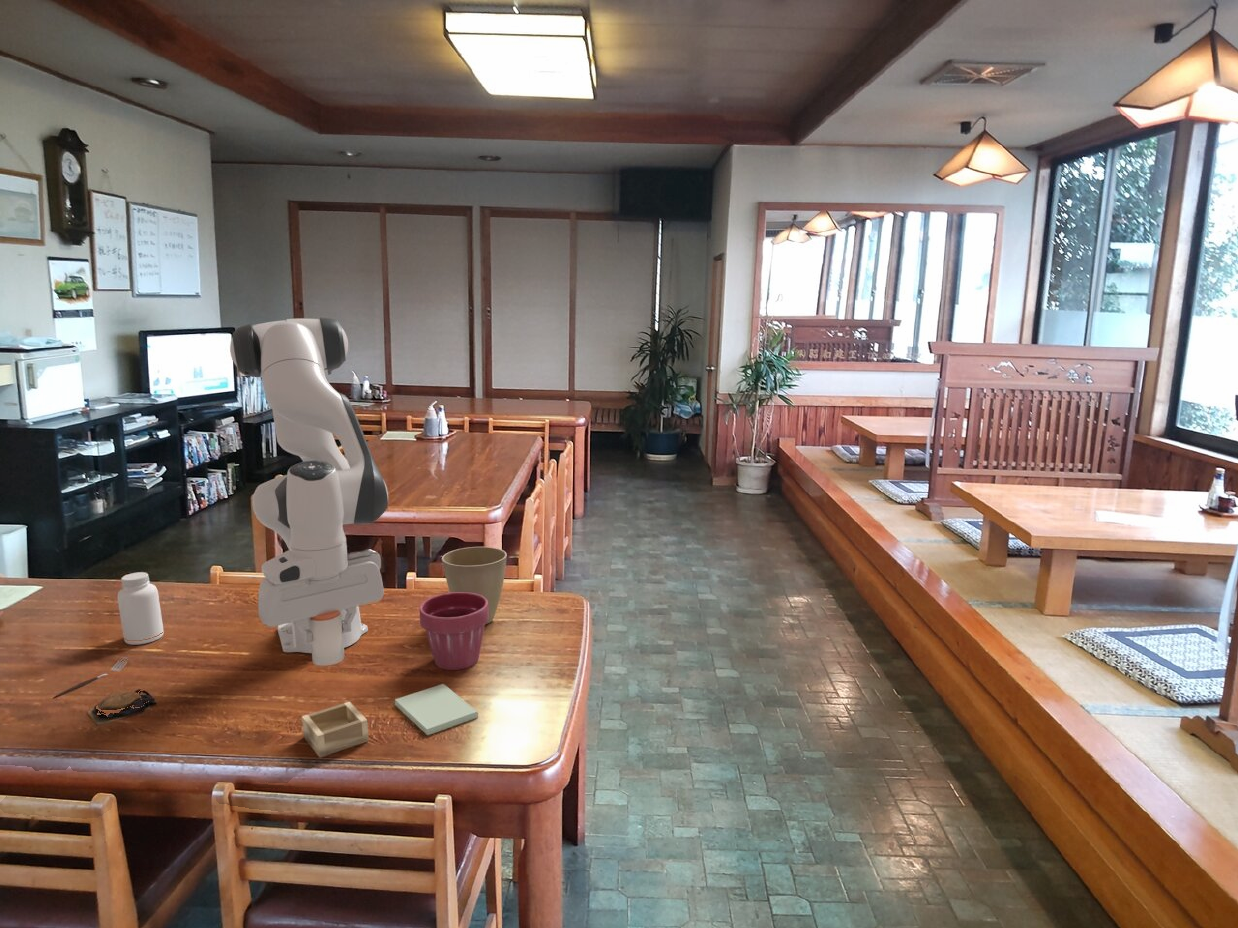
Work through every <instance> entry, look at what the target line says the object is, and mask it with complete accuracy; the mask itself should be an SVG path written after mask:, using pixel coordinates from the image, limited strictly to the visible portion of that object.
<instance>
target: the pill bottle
mask: <svg viewBox="0 0 1238 928" xmlns="http://www.w3.org/2000/svg"><path fill="white" fill-rule="evenodd" d="M120 580H121V586H122V588H121V589H120V590H119V591H118V593H117V596H116V597H117V605H118V610H119V617H120V622H121V624H120V625H121V629H122V636H123V640H124V643H126V644H127V645H132V646H133V645H135V646H136V645H137V646H138V645H144V644H149V643H152V642H155V641H157V640H159V639H161V638H162V637H163V636H164V625H163V617H162V610H161V604H160V596H159V591H158V588H157V586H156V585H155V584H152V583H150V582H151V581H150V577H149V574H148V573H147V572H144V571H140V572H138V571H137V572H132V573H129V574H128V573H127V574H126V575H124V576H122V577H121V579H120ZM162 632H163V633H162ZM160 633H162V634H160ZM159 634H160V635H159ZM157 635H159V636H157ZM154 636H157V637H154ZM152 637H154V638H152ZM124 638H125V639H127V640H143V639H148V638H151V639H148V640H143V641H127V640H125V639H124Z"/></svg>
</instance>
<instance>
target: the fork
mask: <svg viewBox="0 0 1238 928" xmlns="http://www.w3.org/2000/svg"><path fill="white" fill-rule="evenodd" d="M121 658H122V660H123V659H124V660H125V659H127V660H128V659H129V660H130V658H128V657H126V656H124V657H123V656H121V657H120V659H121ZM127 663H128V662H127V661H125V662H124V661H122V662H121V661H119V660H118V661H117V662H116V663H115V665H113V666H112V667H111V668H110V670H111V671H113V672H114V671H115V672H120V671H122V669H123V668H124V667H125V666H126V664H127ZM108 675H109V674H108V673H103V674H100V675H98V676H95V677H93V678H91V679H88V680H85V681H83V682H80V683H78V684H75V685H74V686H71V687H70V688H68V689H67V690H64V691H62V692H60V693H58V694H57V695H55V696H53V699H57V698H59V697H61V696H64V695H67V694H68V693H70V692H73V691H75V690H78V689H80V688H83V687H85V686H87V685H89V684H90V683H92V682H94V681H96V680H98V679H100V678H102V677H105V676H108Z"/></svg>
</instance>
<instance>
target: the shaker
mask: <svg viewBox="0 0 1238 928" xmlns="http://www.w3.org/2000/svg"><path fill="white" fill-rule="evenodd" d="M309 628H310V631H311V632H312V638H313V641H312V642H311V650H312V653H311V659H312V663H313V664H314V665H316V666H319V667H321V666H323V667H325V666H332V665H335V664H338V663H340V662H342V661H343V660H344V659H345V658H346V657H345V656H346V655H345V648H344V644H343V632H342V620H341V612H340V611H338V610H337V611H332V612H328V613H324V614H320V615H317V616H315V617H310V618H309Z"/></svg>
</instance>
